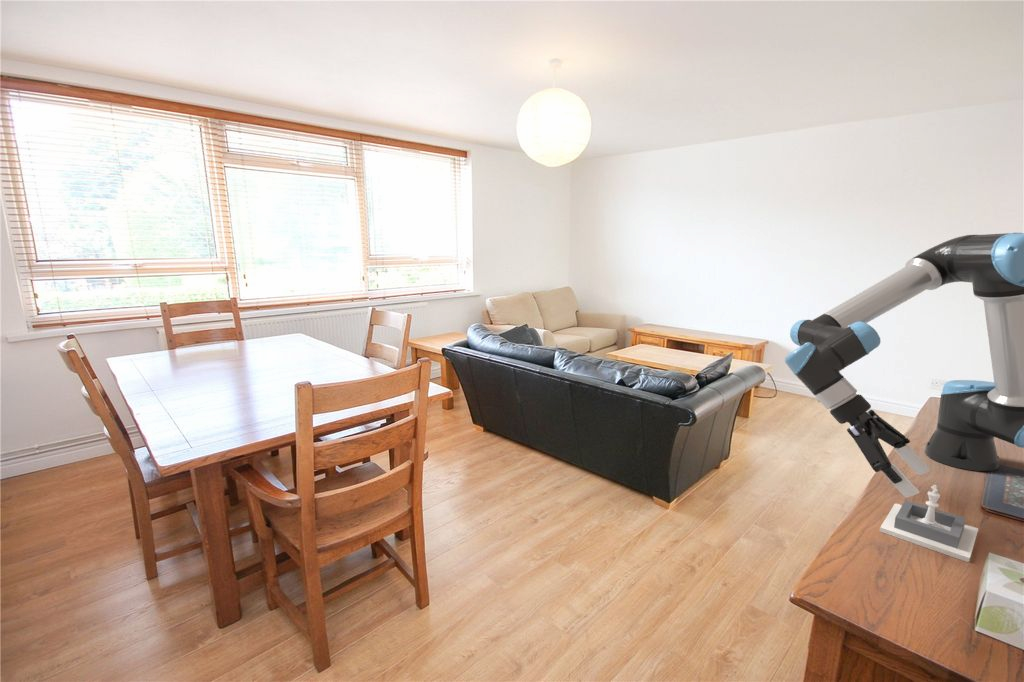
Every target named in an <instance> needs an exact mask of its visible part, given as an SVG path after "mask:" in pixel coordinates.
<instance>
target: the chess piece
mask: <svg viewBox="0 0 1024 682" xmlns="http://www.w3.org/2000/svg"><path fill="white" fill-rule="evenodd" d="M930 488H931V489H932V490H931V491H930V490H929V491H927V497H928V500H926V501H925V504H926V506H927V507H928V510H927V513H926V516H925V518H918V519H915V520H916V521H919V522H922V523H925V524H929V525H932V526H935V527H938V528H941V529H944V528H943V526H941V525H940V524H939V523H937V522H936V521H935V509H936V508H939V506H940V504H939V503H938V502H937V501H938V500H939V499H940V497H941V495H940V493H938V492H939V490H938V489H937V488H938V485H937V484H933V485H931V487H930Z"/></svg>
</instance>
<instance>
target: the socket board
mask: <svg viewBox="0 0 1024 682" xmlns="http://www.w3.org/2000/svg"><path fill="white" fill-rule="evenodd" d="M928 507H929V506H928V505H924V504H919V503H918V502H913V501H911V500H907V499H905V500H904V502H903V504H899V503H894V504H893V506H892V507H891V509H890V511H889V513H888V514H887V516H886V517H885V519H884V521H883V522H882V524H881V525H880V527H879V532H880V533H884V534H886V535H889V536H891V537H895V538H898V539H901V540H903V541H906V542H908V543H912V544H914V545H917V546H920V547H923V548H926V549H929V550H932V551H935V552H938V553H940V554H944V555H946V556H949V557H951V558H954V559H957V560H960V561H963V562H966V563H970V560H971V557H972V554H973V553H972V552H973V549H974V546H975V543H976V540H977V536H978V533H979V532H978V531H979V528H978V527H975V526H971V525H968V524H966V518H967V517H963V516H960V515H958V514H953V513H950V512H947V511H944V510H940V509H938V508H935V521H936V522H937V523H939V524H940V525H941V526H943V528H944V529H941V528H938V527H935V526H932V525H929V524H925V523H922V522H919V521H916V520H915V519H918V518H925V516H926V513H927V510H928Z"/></svg>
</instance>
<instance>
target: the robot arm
mask: <svg viewBox="0 0 1024 682" xmlns="http://www.w3.org/2000/svg"><path fill="white" fill-rule="evenodd" d="M961 282H963V283H970V284H972V290H973V296H974V297H976V298H978V299H980V300H982V301H983V307H984V313H985V315H984V316H985V321H986V329H987V336H988V344H989V353H990V359H991V368H992V374H993V381H986V380H985V381H984V380H977V379H976V380H973V379H959V380H958V379H957V380H956V379H955V380H949V381H946V382H945V383H944V384H943V387H942V391H941V393H940V400H939V401H940V402H939V407H938V417H937V424H936V425H937V426H936V429H935V430H934V432H933V433H932V435H931V437H930V438H929V440H928V441H927V442H926V444H925V449H924V454H925V455H926V456H927V457H928V458H929V459H932V460H934V461H936V462H939V463H941V464H943V465H946V466H950V467H954V468H957V469H962V470H963V469H964V470H970V471H977V472H992V471H996V470H998V469H999V467H1000V456H999V455H998V452H997V447H996V442H995V438H996V439H999V440H1001V441H1004V442H1008V443H1009V444H1012V445H1015V446H1016V447H1018V448H1021V449H1022V448H1023V449H1024V232H1008V233H1007V232H1006V233H990V234H989V233H988V234H966V235H961V236H958V237H954V238H952V239H948V240H946V241H944V242H941V243H939V244H937V245H935V246H933V247H931V248H928V249H926V250H925V251H923V252H920V253H919V254H917V255H916V256H913V257H912V258H911V259H909V260H908V261H906V263H905V267H903V268H901V269H900V270H897V271H895V272H894V273H893V274H890V275H889V276H887V277H886V278H884V279H881V280H880V281H878V282H877V283H874V284H873V285H872V286H869V287H868V288H867V289H865V290H863V291H861V292H859V293H858V294H856V295H855V296H852V297H851V298H849V299H848V300H845V301H843V302H842V303H840V304H838V305H836V306H835V307H833V308H831V309H830V310H828V311H826V312H825V313H823V314H821V315H819V316H817V317H816V318H813V319H812V320H811V319H801V320H798V321H796V322H795V323H794V324H793V325H791V328H790V332H789V335H790V336H789V338H790V339H791V340H790V341H792V342H793V343H794V344H795V345H797V346H798V347H797V348H795V349H794V350H792V351H791V352H789V354H787V355H786V356H785V358H784V363H785V364H786V365H787V366H788V368H789V370H791V372H792V373H793V375H794V376H796V377H797V379H799V380H800V381H801V382H802V384H803V385H805V387H806V388H807V390H809V391H810V392H811V393H812V395H814V397H815V398H816V401H817V402H818V403H820V404H821V405H823V406H824V408H825V409H830V410H829V414H830V415H831V416H832V417H833V418H834V419H835V420H836V422H838V424H840V425H843V424H846V423H848V424H849V425H850V427H848V428H847V429H846V432H847V433H848V434H849V435H850V437H851V438H853V441H855V444H856V445H857V447H858V448H859V450H860V451H861V453H862V454H863V456H864V458H865V459H866V461H867V463H868V464H869V465H870V467H871V469H872V470H873V471H874V472H875V473H878V472H882V474H883V475H884V476H885V477H886V478H887V479H888V480H889V481H890V483H891V484H892V485H893V486H894V487H895V488H896V489H897V490H898V492H899V493H900V494H901V495H903V497H904V498H906V499H907V498H911V497H913V496H915V495H918V494H920V490H919V489H918V488H917V487H916V486H915V485H914V483H912V481H910V480H909V478H908V477H907V476H906V475H905V474H904V473H903V472H902V470H900V469H899V468H898V467H897V466H896V464H895V463H893V464H892V463H891V461H890V459H889V457H888V455H887V453H886V452H885V450H884V448H883V446H882V445H881V442H880V440H881V441H883V442H885V444H888V445H889V446H891V447H893V449H895V450H894V451H895V452H896V454H897V455H898V456H899V457H900V458H901V459H902V460H903V461H904V462H905V463H906V465H908V467H910V469H911V470H912V471H913V472H914V473H916V475H917V476H921V475H923V474H926V473H929V472H931V471H932V469H931V468H930V466H928V464H927V463H926V462H925V460H923V459H922V458H921V457H920V456H919V455H918V453H916V452H915V451H914V450H913V449H912V448H911V447H910V446H909V445H908V444H910V443H911V440H910V439H909V438H907V437H906V436H905V435H904V434H902V433H901V432H900V431H899V430H897V428H895V427H894V426H892V425H891V424H889V423H888V422H887V421H886V420H884V419H883V418H882V417H880V416H879V415H878V414H877V413H876V412H875V411H874V410H873V409H871V408H872V405H871V403H870V402H868V401H867V399H865V397H864V396H863V395H862V394H857V391H858V390H857V389H856V388H855V387H854V386H853V384H852V383H851V382H849V380H847V379H846V378H845V377H844V375H843V374H842V373H841V371H842V370H844V369H845V368H847V367H849V366H850V365H852V364H854V363H856V362H857V361H859V360H860V359H862V358H864V357H866V356H867V355H869V354H870V353H871V352H873V351H874V350H875V349H877V348H878V347H879V346H880V345H881V337H880V335H879V333H878V332H877V330H876V329H875V328H874V327H872V326H871V325H870V324H869V322H871V321H873V320H875V319H877V318H879V317H880V316H882V315H885V314H886V313H887V312H890V311H891V310H892V309H894V308H896V307H898V306H900V305H901V304H903V303H905V302H907V301H908V300H910V299H912V298H914V297H915V296H918V295H919V294H921V293H923V292H924V291H926V290H928V291H933V290H936V289H938V288H940V287H942V286H944V285H946V284H947V285H948V284H951V283H961ZM879 439H880V440H879Z"/></svg>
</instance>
